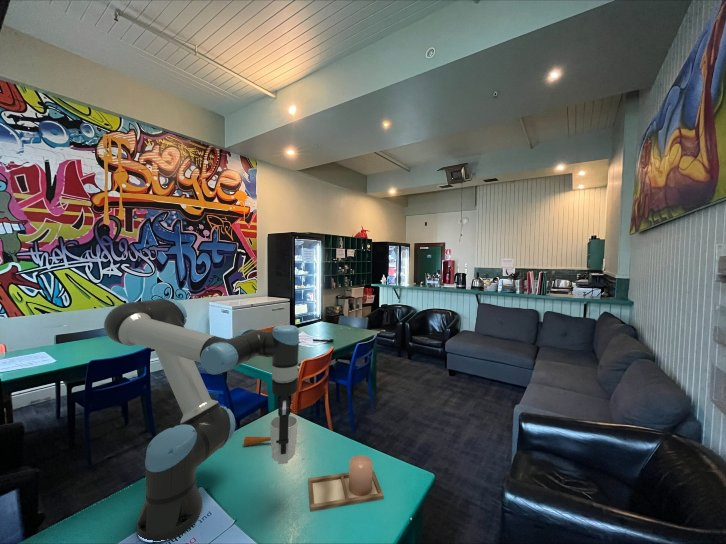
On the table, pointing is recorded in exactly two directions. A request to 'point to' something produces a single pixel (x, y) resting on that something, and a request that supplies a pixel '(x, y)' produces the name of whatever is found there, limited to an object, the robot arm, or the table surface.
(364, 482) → the pink round cylinder
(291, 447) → the white cup
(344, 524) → the table surface
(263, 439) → the kendama
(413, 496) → the table surface
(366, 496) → the wooden divided tray
